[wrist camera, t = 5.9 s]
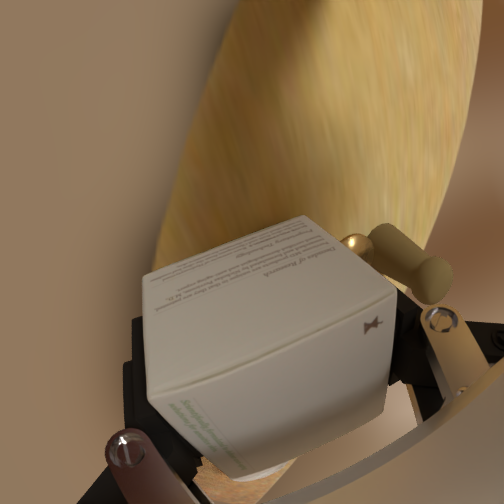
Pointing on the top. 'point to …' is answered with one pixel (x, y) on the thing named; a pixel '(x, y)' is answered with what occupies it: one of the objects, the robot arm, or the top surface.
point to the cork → (410, 264)
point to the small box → (268, 345)
